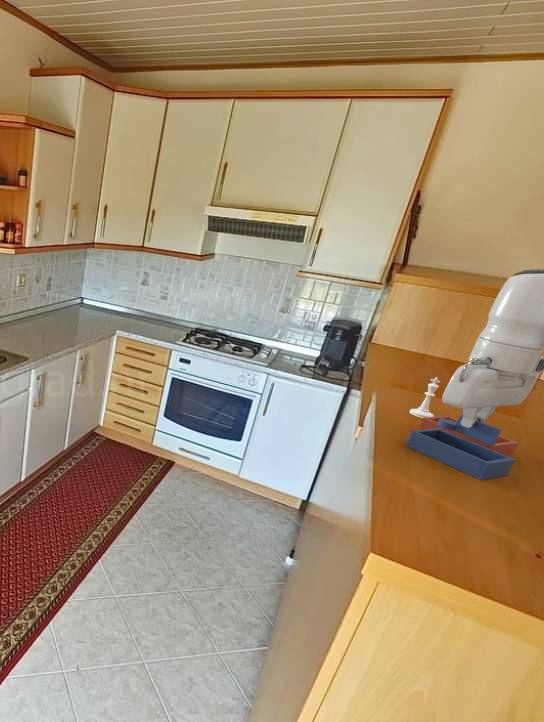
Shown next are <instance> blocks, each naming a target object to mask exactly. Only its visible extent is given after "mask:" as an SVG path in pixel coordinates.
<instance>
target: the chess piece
mask: <svg viewBox="0 0 544 722" xmlns="http://www.w3.org/2000/svg"><path fill="white" fill-rule="evenodd" d="M430 381H431V382H432V383H428V384H427V391H425V392H424V395H426V396H425V398H424V399H423V402H422V403H421V405H420V406H419V407H417V408H410V410H409V411H408V412H409V414H410V415H412V416H415V417H417V418H420V419H423V418H424V417H435V415H434V414H433V413H431V412H430V410H429V409H430V408H429V407H430V403H431V399H432V398H433V397H436V394H435V391H437V390H438V389H439V388H440V387H439V385H438V384H437V383H439V384H440V383H441V380H439V377H437V376H436V377H434V378H430Z"/></svg>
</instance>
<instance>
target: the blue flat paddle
mask: <svg viewBox="0 0 544 722" xmlns="http://www.w3.org/2000/svg"><path fill="white" fill-rule="evenodd" d="M462 419H463V414H462V415H461V414H460V415H459V417H458V419H457V420H458V421H457V422H455V421H453V420H449V419H444V418H440V419H439V421H438V423H437V425H439V426H440V427H442V428H445V429H448V430H453V431H457V432H459V433H462V434H464V435H467V436H469V437H472V438H474V439H477V440H479V441H482V442H484V443H487V444H489V445H494V444H495V442H496V440H497V438H498V436H499V435H500V434H501V432H502V429H501V428H498V427H495V426H493V425H490V424H487V423H485V422H484V423H482V422H480V421H478V422H477V424H476V426H475V427H472V428H467V427H465V426H462V425H461V421H462Z"/></svg>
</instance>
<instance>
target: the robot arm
mask: <svg viewBox="0 0 544 722" xmlns="http://www.w3.org/2000/svg"><path fill="white" fill-rule="evenodd" d="M543 351H544V269H543V268H540V269H539V268H537V269H525V270H521V271H518V272H515V273H514V274H512V275H510V276H509V277H508V279H507V280H506V281H505V282H504V284H503V285H502V287H501V289H500V290H499V292H498V294H497V296H496V297H495V299H494V302H493V303H492V306H491V307H490V310H489V312H488V320H487V324H486V326H485V327H484V329H482V331H481V332H480V333H479V335H478V337H477V339H476V341H475V344H474V345H473V349H472V351H471V352H470V356H469V358H468V362H467V363H465V364H463V365H460V366H459V367H458V368H457V369H456V370H455V371H454V373H453V375H452V376H451V378H450V380H449V382H448V383H447V385H446V387H445V389H444V392H443V394H442V396H441V399H442V403H444V404H445V405H448V406H450V407H453V408H457V409H460V410H462V415H463V419H462V421H461V425H462V426H465V427H467V428H472V427H475V426H476V424H477V422H478V421H480V422H482V423H485V422H486V420H487V419H488V418H489V417H490V416H491V415H492V414H493V413H494V412H495V410H496V408H497V407H511V406H520V405H521V404H522V403H523V402H524V401H525V400H526V399H527V397H528V396H529V394H530V393H531V391H532V389H533V388H534V386H535V384H536V382H537V380H538V377H539V373H543V372H544V356H543V355H542V353H543Z"/></svg>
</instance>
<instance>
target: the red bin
mask: <svg viewBox="0 0 544 722" xmlns="http://www.w3.org/2000/svg"><path fill="white" fill-rule="evenodd" d="M440 418H444V419H449V420H453V421H455V422H457V421H458V419H457V418H454V417H452V416H449V415H438V416H436V415H435V416H434V417H424V418H421V422H420V424H419V426H418V429H417V430H425V429H435V428H438V429H441V430H443V431H446V432H448V433H451V434H453V435H456V436H458V437H461V438H463V439H466V440H468V441H471V442H473V443H476V444H478V445H481V446H483V447H486V448H488V449H491V450H493V451H495V452H498V453H500V454H503V455H505V456H508V457H510V458H513V456H514V453H515V452H516V449H517V448H518V446H519V442H518V441H516V440H513V439H510V438H507V437H506V436H502V435H500V434H499V436H498V438H497V440H496V442H495V444H494V445H489V444H487V443H484V442H482V441H479V440H477V439H474V438H472V437H469V436H467V435H464V434H462V433H459V432H457V431H453V430H448V429H445V428H442V427H440V426H439V425H437V423H438V421H439V419H440Z"/></svg>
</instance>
